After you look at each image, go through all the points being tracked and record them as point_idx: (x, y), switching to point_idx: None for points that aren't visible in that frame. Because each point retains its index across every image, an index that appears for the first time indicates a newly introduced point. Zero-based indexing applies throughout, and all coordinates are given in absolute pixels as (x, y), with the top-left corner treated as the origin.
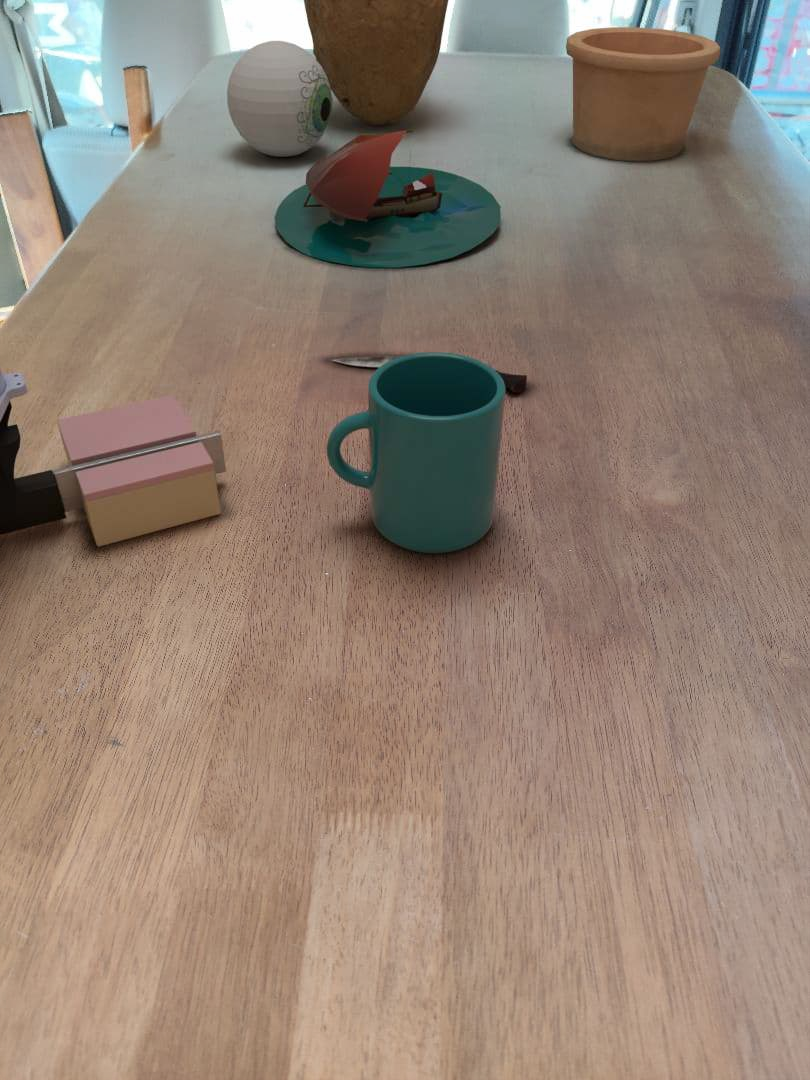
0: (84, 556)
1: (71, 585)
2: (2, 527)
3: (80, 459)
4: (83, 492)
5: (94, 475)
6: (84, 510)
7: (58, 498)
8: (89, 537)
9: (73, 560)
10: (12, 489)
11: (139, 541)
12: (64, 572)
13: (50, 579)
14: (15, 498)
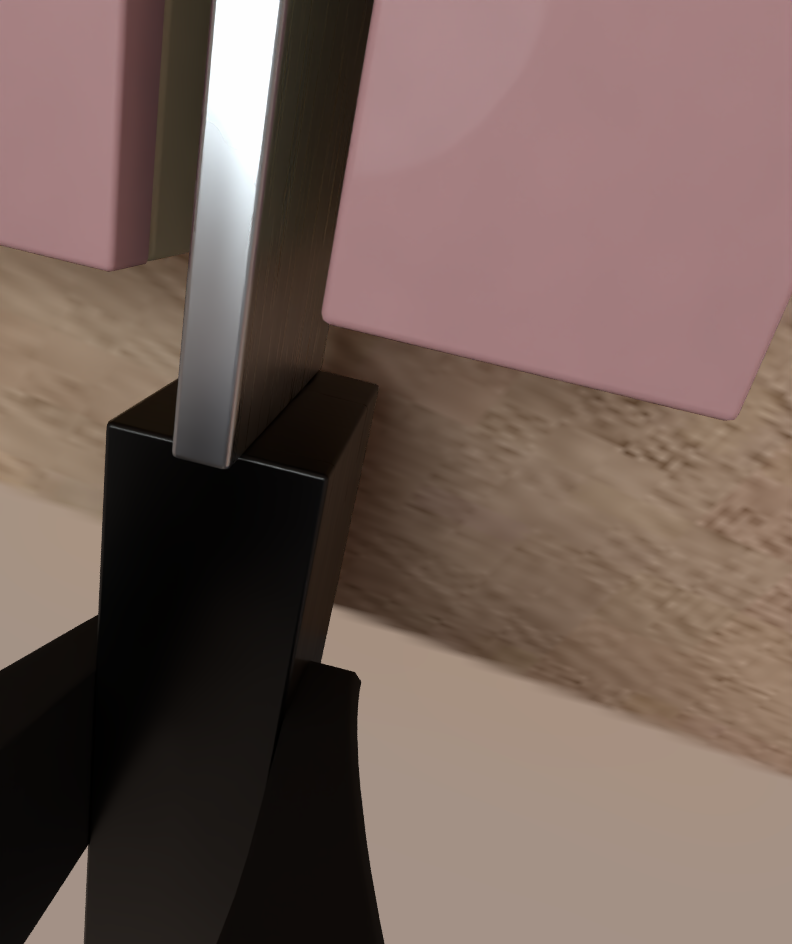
0: None
1: (783, 528)
2: None
3: (125, 180)
4: (708, 411)
5: (502, 187)
6: None
7: (350, 445)
8: None
9: (622, 447)
10: (365, 845)
11: None
12: (672, 513)
13: (669, 574)
14: (351, 754)
